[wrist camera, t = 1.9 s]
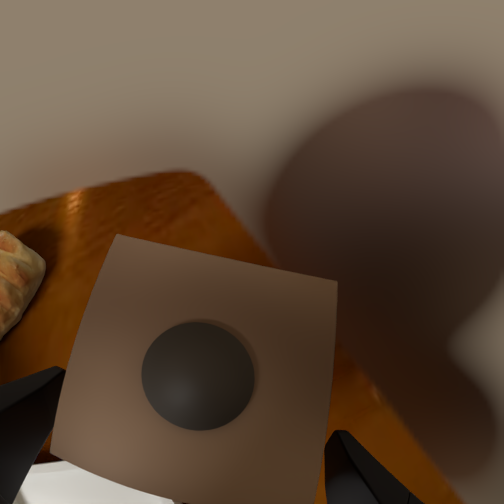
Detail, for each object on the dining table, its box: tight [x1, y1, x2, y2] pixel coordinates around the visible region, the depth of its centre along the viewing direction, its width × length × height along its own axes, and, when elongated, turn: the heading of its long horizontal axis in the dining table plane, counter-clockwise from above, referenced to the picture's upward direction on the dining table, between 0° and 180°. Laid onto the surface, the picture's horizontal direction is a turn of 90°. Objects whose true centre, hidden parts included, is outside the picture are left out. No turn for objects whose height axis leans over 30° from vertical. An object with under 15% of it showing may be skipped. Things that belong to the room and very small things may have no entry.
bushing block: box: [50, 234, 338, 504], centre depth 11 cm, size 6×6×12 cm
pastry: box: [0, 231, 46, 341], centre depth 15 cm, size 9×7×4 cm
